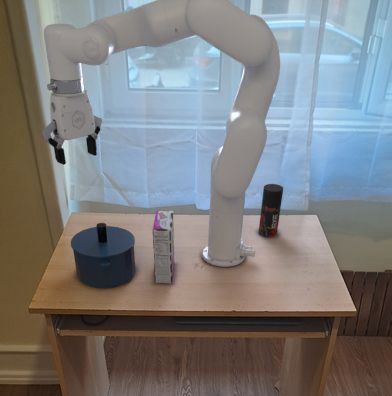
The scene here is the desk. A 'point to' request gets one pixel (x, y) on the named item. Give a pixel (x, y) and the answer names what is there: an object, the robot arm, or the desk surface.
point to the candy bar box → (163, 247)
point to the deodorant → (270, 210)
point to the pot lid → (102, 241)
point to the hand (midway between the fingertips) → (77, 158)
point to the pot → (105, 270)
